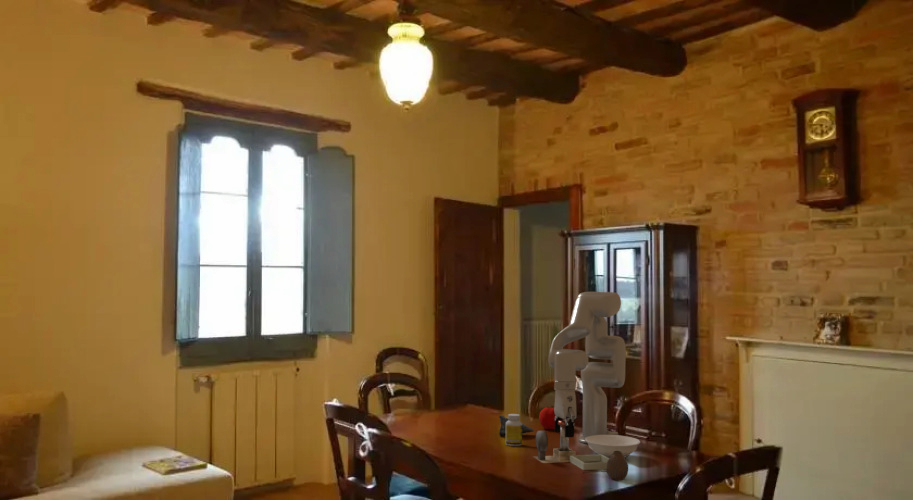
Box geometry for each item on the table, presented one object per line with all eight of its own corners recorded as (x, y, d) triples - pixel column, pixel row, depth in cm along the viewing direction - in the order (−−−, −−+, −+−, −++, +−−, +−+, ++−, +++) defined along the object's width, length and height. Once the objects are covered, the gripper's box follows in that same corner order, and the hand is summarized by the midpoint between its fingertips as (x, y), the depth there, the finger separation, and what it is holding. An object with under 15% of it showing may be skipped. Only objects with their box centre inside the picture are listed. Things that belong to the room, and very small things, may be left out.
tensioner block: (569, 457, 283) (569, 427, 283) (580, 464, 273) (580, 432, 273) (532, 459, 279) (533, 428, 280) (542, 465, 270) (542, 433, 270)
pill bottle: (520, 447, 300) (521, 416, 300) (504, 446, 301) (504, 415, 302) (522, 443, 306) (523, 413, 307) (506, 442, 308) (506, 413, 308)
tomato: (571, 429, 337) (571, 405, 338) (549, 432, 330) (549, 408, 331) (554, 425, 347) (554, 402, 347) (532, 428, 339) (532, 404, 340)
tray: (601, 463, 275) (601, 454, 275) (616, 471, 263) (616, 462, 263) (569, 464, 272) (569, 455, 272) (583, 472, 260) (583, 463, 260)
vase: (604, 480, 252) (605, 452, 252) (608, 475, 258) (608, 448, 258) (626, 482, 249) (626, 454, 249) (629, 477, 256) (629, 450, 256)
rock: (492, 433, 327) (492, 432, 317) (499, 414, 329) (499, 413, 319) (527, 447, 325) (528, 447, 315) (534, 428, 326) (535, 427, 317)
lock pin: (567, 456, 280) (568, 419, 280) (572, 459, 275) (573, 422, 276) (555, 457, 278) (556, 420, 279) (560, 460, 274) (560, 422, 275)
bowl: (629, 466, 271) (629, 447, 271) (576, 458, 281) (576, 441, 282) (647, 456, 288) (647, 438, 288) (597, 449, 298) (597, 432, 298)
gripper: (584, 388, 270) (583, 438, 269) (565, 383, 287) (564, 430, 286) (564, 388, 268) (563, 439, 267) (546, 383, 285) (545, 430, 284)
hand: (564, 434), depth 277 cm, fingers open, 9 cm apart
